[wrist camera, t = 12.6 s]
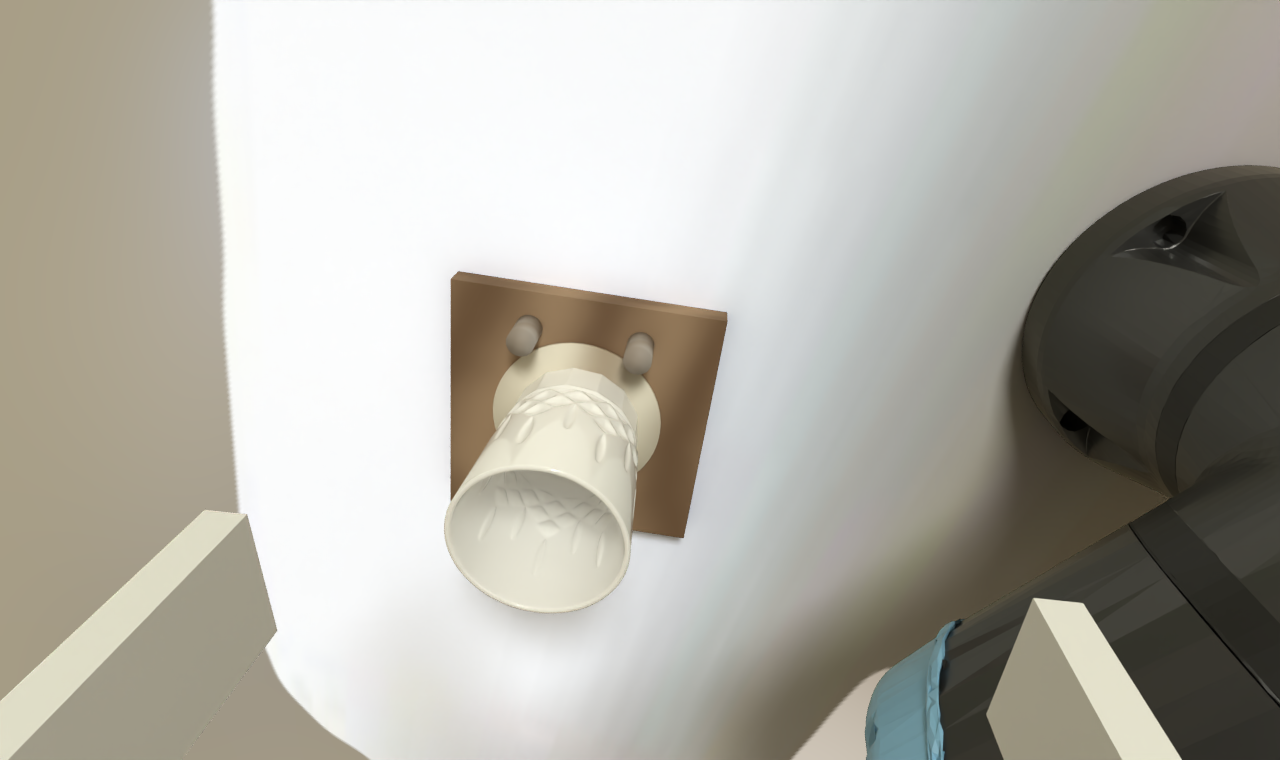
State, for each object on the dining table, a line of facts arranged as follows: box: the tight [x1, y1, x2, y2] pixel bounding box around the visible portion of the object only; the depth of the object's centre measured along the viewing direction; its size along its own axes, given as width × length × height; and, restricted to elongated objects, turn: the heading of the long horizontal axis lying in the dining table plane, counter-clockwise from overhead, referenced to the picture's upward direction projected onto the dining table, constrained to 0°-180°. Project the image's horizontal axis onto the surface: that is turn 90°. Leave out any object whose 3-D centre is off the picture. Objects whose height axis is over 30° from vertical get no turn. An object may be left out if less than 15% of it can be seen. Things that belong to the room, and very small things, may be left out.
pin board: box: [451, 271, 727, 538], centre depth 38 cm, size 14×14×3 cm
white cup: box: [444, 368, 638, 613], centre depth 34 cm, size 8×8×10 cm
